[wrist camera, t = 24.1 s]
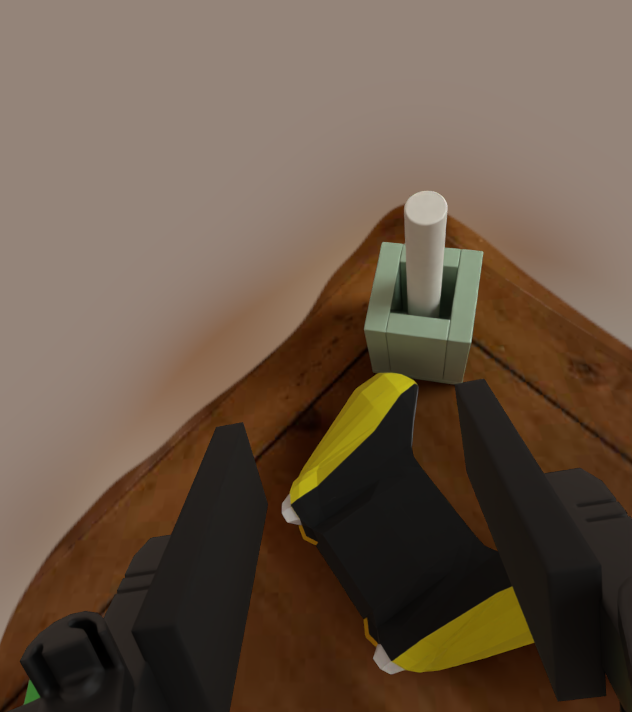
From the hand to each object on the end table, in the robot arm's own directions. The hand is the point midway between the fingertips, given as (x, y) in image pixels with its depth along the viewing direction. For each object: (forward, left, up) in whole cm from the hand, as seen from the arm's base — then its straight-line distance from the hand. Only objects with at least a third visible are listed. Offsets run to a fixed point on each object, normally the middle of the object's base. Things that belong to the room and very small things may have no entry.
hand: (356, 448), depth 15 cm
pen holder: (0, -12, -18) cm, 22 cm away
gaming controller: (-1, 0, -18) cm, 18 cm away
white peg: (0, -12, -18) cm, 21 cm away
